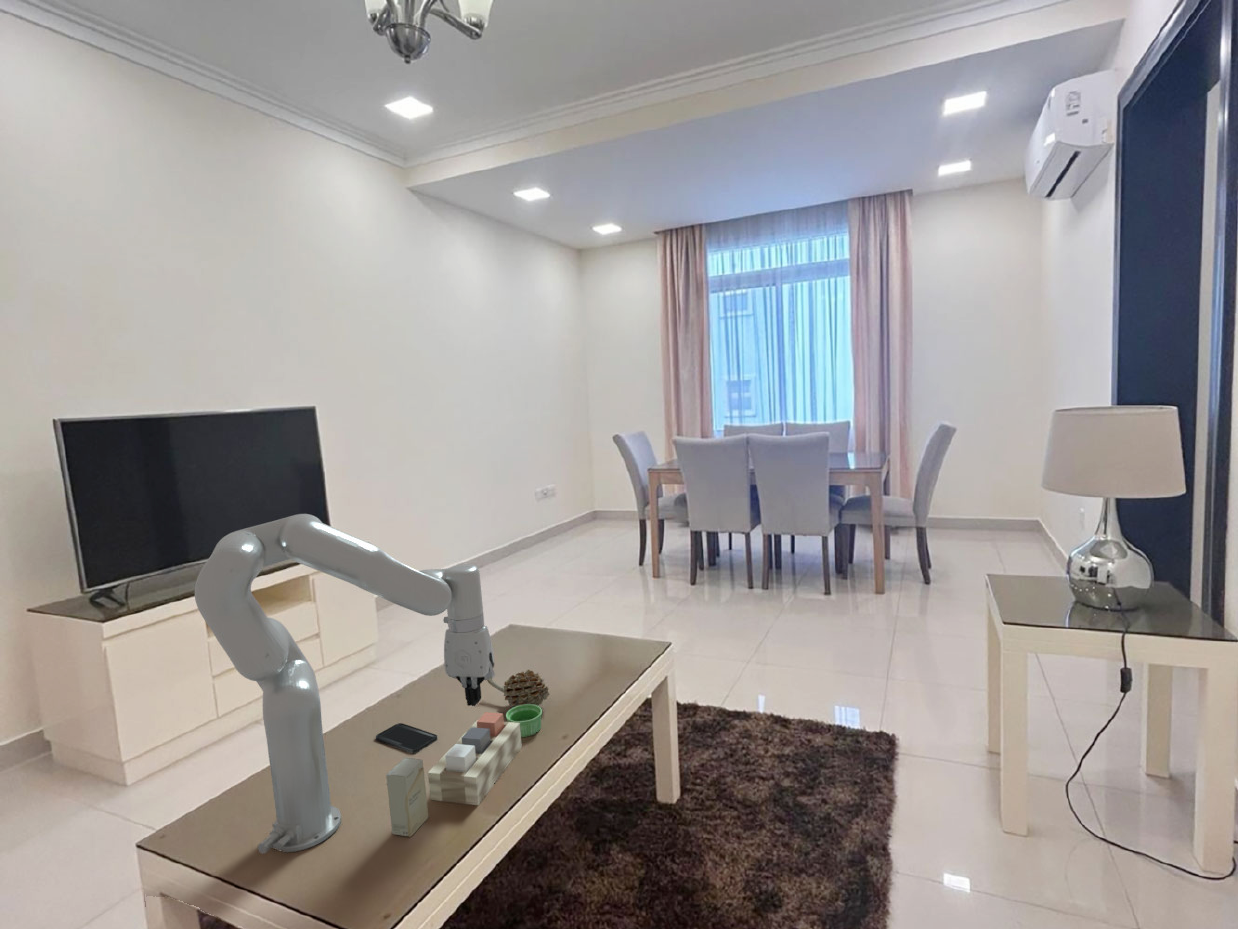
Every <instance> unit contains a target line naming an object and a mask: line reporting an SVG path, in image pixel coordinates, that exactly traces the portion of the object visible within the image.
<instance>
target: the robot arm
mask: <svg viewBox="0 0 1238 929" xmlns="http://www.w3.org/2000/svg"><path fill="white" fill-rule="evenodd" d="M288 560H292V561H294V562H295V563H298V564H300V565H303V566H305V567H308V568H310V569H314V570H316V571H318V572H321V573H323V574H327V575H329V576H332V577H333V578H336V579H339V580H342V581H344V582H346V583H349V584H351V585H354V586H356V587H358V588H360V589H361V590H363V591H366V592H368V593H371V594H373V595H375V596H377V597H380V598H382V599H384V600H386V601H387V602H390V603H392V604H394V605H398V606H400V607H402V608H404V609H407V610H410V611H412V612H415V613H417V614H420V615H424V616H429V617H430V616H438V615H441V614H443V613H444V612H445V611H446V613H447V616H443V617H444V618H443V620H442V621H443V623H445V624H447V626H448V627H447V629H446V630H445V633H444V634H445V635H444V642H443V661H444V662H443V664H444V672H445V674H446V675H447V676H448V677H450V678H452V679H456V680H457V681H458V682H459V683H460V684H461V687H462V688H463V689H464V693H465V695H464V696H465V700H466V705H467V706H469V707H470V706H471V707H476V705H477V704H478V703H479V702H480V701H481V699H482V689H481V684H482V683H483V682H484V681H487V680H489V679H493V678H494V677H495V676H496V673H495V670H494V668H495V656H494V647H493V644H492V639H491V635H490V632H489V629H488V628H489V627H488V626H487V625H485V616H484V606H483V598H482V597H483V596H482V586H481V575H480V574H481V573H480V570H479V568H478V567H477V566H476V565H473V564H459V565H454V566H452V567H449V568H438V569H433V568H432V569H422V570H417V569H414V568H412V567H410V566H408V565H406V564H405V563H403V562H400V561H399V560H397V559H395V558H393V557H392V556H391V555H390V554H389V553H387V552H386V551H384V550H383V549H381V548H380V547H378V546H376V545H374V544H372V543H370V542H368V541H365V540H363V539H360V538H358V537H357V536H354V535H351V534H349V533H346V532H344V531H342V530H339V529H338V528H335V527H333V526H330V525H328V524H326V523H323V521H321V519H320V518H318V517H317V516H315V515H312V514H311V513H310V514H308V513H299V514H298V513H297V514H294V515H290V516H287V517H283V518H280V519H277V520H273V521H269V522H265V523H261V524H258V525H257V524H256V525H253V526H249V527H246V528H243V529H242V528H241V529H239V530H235V531H233V532H230V533H228V534H227V535H225V536H223V537H222V538H221V539H220V540H219V541H218V542H217V543H216V545H215V547H214V548H213V551H212V553H211V555H210V556H209V558H208V559H207V561H206V562H205V563H204V564H203V566H202V568H201V569H200V572H199V574H198V575H197V577H196V582H195V585H194V600H195V605H196V606H197V610H198V612H199V613H200V616H202V619H203V620H204V621H205V624H206V625H207V626H208V628H209V630H211V632H212V633H213V634H214V637H215V639H216V640H217V641H218V643H219V645H220V646H221V648H222V649H223V650H224V652H225V654H226V655H227V657H228V658H229V660H230V661H231V662H232V665H233V666H234V668H235V670H236V671H237V672H238V673H239V675H241V676H242V677H244V678H245V679H247V680H250V681H254V682H256V684H257V685H258V686H259V687H260V689H261V691H262V719H263V725H264V730H265V737H266V745H267V752H268V760H269V765H270V766H269V767H270V774H271V782H272V784H271V785H272V791H273V799H274V807H275V808H274V809H275V815H276V820H275V821H274V822H273V823H272V829H271V831H270V834H269V836H268V837H265V838H264V840H262V841H261V842H260V843H259V844H258V845H257V849H258V851H259V853H260V854H265V853H267V852H268V851H269V850H270V849H274V848H276V849H278V850H281V851H284V853H293V852H299V851H303V850H307V849H310V848H312V847H315V846H317V845H318V844H321V843H322V842H324V841H325V840H327V839H328V838H329V837H331V836H332V835H333V834H334V833H335V832H336V831H337V829H338V828H339V827H340V824H341V823H342V814H341V811H340V810H339V809H338V808H337V807H335V806H334V805H332V804H331V803H332V802H331V792H330V784H329V775H328V774H329V773H328V766H327V765H328V764H327V757H326V749H325V743H324V742H325V741H324V733H323V722H322V720H323V719H322V708H321V707H322V706H321V698H320V697H321V696H320V691H319V688H318V687H319V686H318V683H317V679H316V675H315V674H316V673H315V671H314V669H313V667H312V665H311V664H310V662H309V661H308V659H307V658H306V656H305V654H304V653H303V651H302V650H301V648H300V647H299V645H298V644H297V643H296V641H295V639H294V638H293V636H292V635H291V633H290V632H289V630H288V629H287V627H286V626H285V624H283V623H282V622H281V621H280V620H278V619H275V618H273V617H269V616H267V615H266V613H265V612H264V609H263V608H262V605H261V604H260V603H259V601H258V600H257V599H256V598H255V595H254V594H253V593H252V583H253V582H254V580H255V579H256V578H257V577H258V575H259V574H260V573H261V571H262V569H263V568H264V567H268V566H272V565H274V564H277V563H281V562H285V561H288ZM272 847H273V848H272ZM278 850H277V851H278ZM281 851H280V852H281Z"/></svg>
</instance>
